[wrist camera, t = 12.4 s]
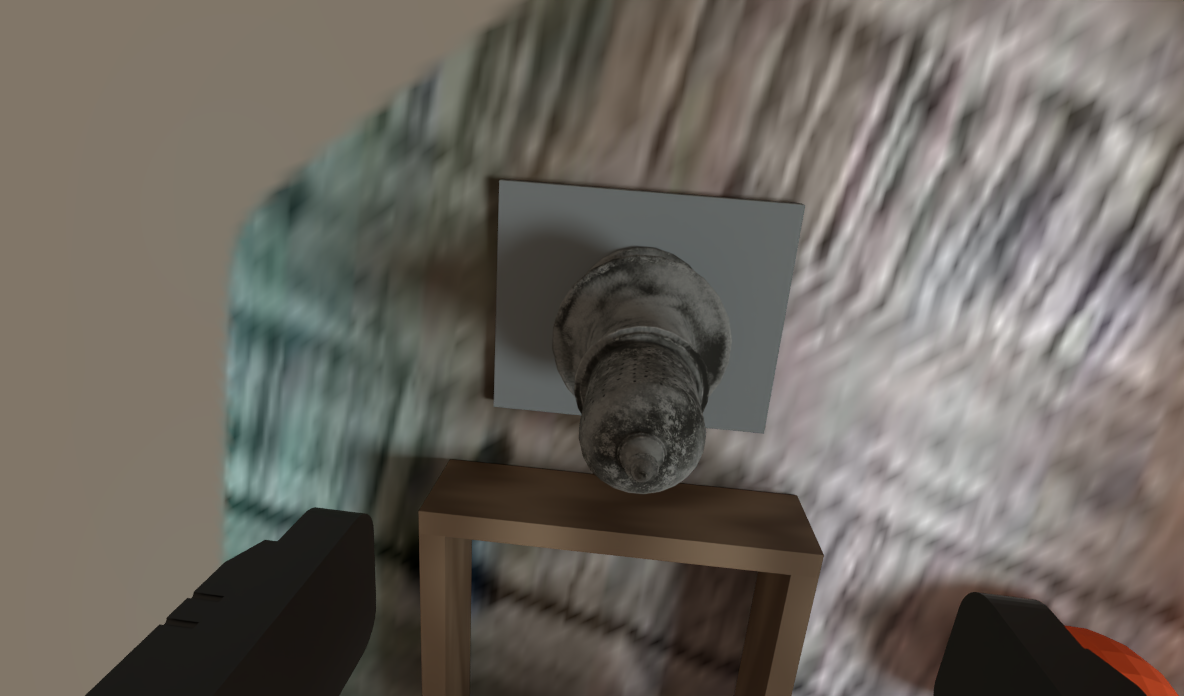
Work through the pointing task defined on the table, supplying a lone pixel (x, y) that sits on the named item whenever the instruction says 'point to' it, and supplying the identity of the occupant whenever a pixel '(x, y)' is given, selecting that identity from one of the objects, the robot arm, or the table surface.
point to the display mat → (640, 219)
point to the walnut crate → (615, 527)
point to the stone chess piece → (641, 365)
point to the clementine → (1124, 662)
